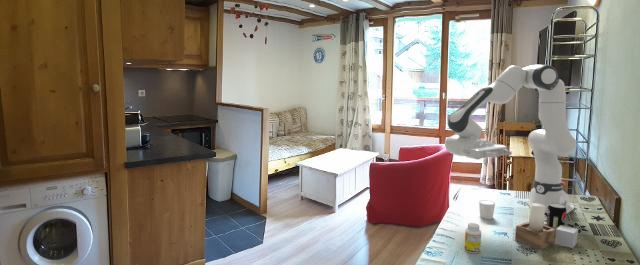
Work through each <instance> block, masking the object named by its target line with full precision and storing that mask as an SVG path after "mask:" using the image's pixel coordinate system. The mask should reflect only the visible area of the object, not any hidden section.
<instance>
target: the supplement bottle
mask: <svg viewBox="0 0 640 265" xmlns="http://www.w3.org/2000/svg"><path fill="white" fill-rule="evenodd" d="M464 232H465V233H464V235H465V236H464V250H465V251H466V253H469V254H472V255H473V254H474V255H476V254H479V253H480V252H481V250H482V249H481V247H482V230H481V229H480V225H479V224H477V223H475V222H469V223H467V228H466V229H465V231H464Z"/></svg>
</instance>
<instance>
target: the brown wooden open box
mask: <svg viewBox="0 0 640 265" xmlns="http://www.w3.org/2000/svg"><path fill="white" fill-rule="evenodd" d="M514 237H515V238H514V241H517V242H519V243H522V244H524V245H527V246H530V247H531V248H532V247H533V248H535V249H538V250H543V249H546V248H547V247H550V246H553V245H556V244H555V237H556V229H554V228H551V227H548V226H546V224H544V226H543V232H536V231H533V230H530V229H529V221H526V222H524V223H520V224H517V225H516V227H515V236H514Z"/></svg>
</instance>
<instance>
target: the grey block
mask: <svg viewBox="0 0 640 265" xmlns="http://www.w3.org/2000/svg"><path fill="white" fill-rule="evenodd" d="M578 233H579V228H575V227H571V226H566V225H565V226H563V225H560V226H559V227H558V228H557V229H556V236H555V244H554V245H559V246H563V247H566V248H569V249H570V248H571V249H574V247H575V246H576V245H578V235H579V234H578Z"/></svg>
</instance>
